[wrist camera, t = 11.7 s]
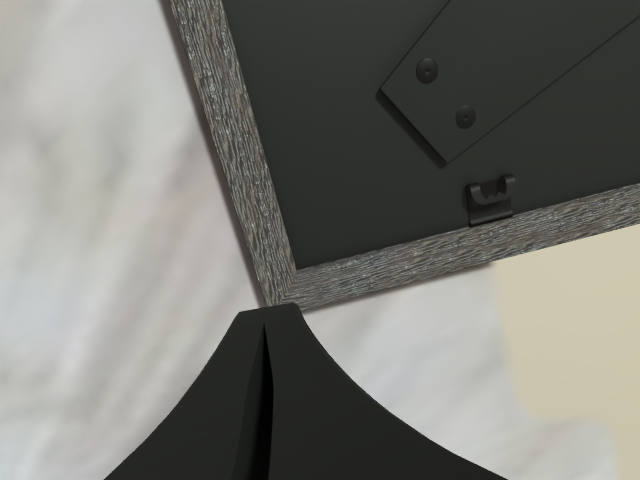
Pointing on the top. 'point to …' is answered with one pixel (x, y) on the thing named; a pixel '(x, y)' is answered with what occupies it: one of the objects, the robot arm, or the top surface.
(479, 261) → the picture frame
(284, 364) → the robot arm
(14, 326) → the top surface
